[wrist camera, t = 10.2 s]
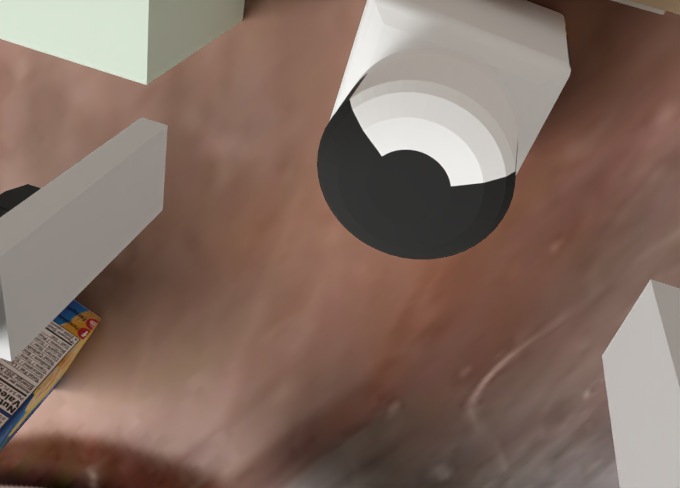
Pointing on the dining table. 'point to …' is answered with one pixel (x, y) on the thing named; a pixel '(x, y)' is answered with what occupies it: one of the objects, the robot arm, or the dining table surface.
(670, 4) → the rail
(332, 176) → the medicine bottle
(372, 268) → the dining table surface
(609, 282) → the dining table surface
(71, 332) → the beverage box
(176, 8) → the sage carton
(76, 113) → the dining table surface
